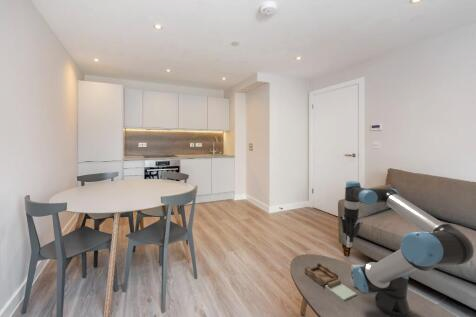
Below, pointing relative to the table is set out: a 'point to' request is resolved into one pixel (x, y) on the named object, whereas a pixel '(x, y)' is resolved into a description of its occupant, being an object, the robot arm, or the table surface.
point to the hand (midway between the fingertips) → (349, 246)
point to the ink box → (352, 275)
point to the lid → (340, 290)
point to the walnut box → (321, 274)
